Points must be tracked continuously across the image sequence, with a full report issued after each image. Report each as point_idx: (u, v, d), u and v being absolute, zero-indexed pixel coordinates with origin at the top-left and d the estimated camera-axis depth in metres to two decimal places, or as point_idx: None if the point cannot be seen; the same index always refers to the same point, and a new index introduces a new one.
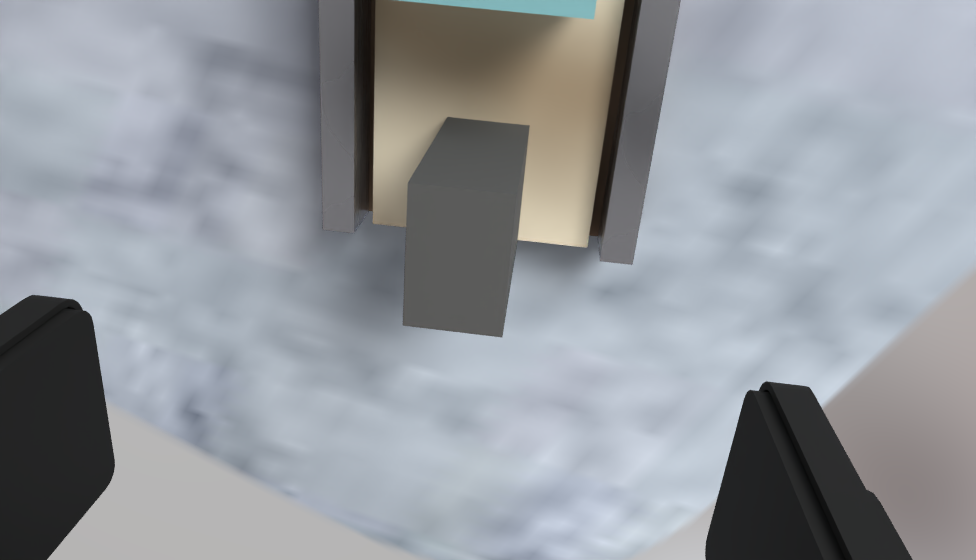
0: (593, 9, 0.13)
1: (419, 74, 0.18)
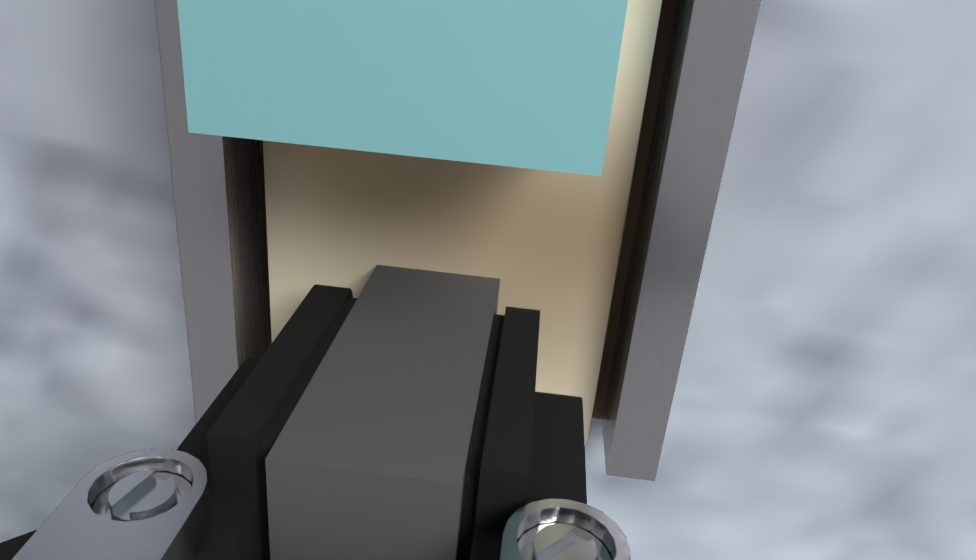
0: (600, 159, 0.07)
1: (332, 204, 0.12)
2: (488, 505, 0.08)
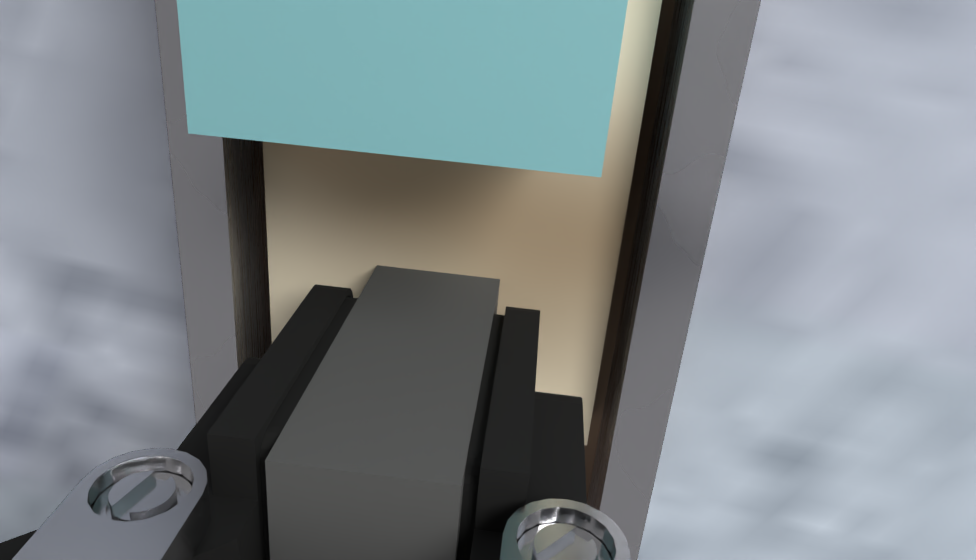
0: (600, 160, 0.07)
1: (332, 205, 0.12)
2: (488, 505, 0.08)
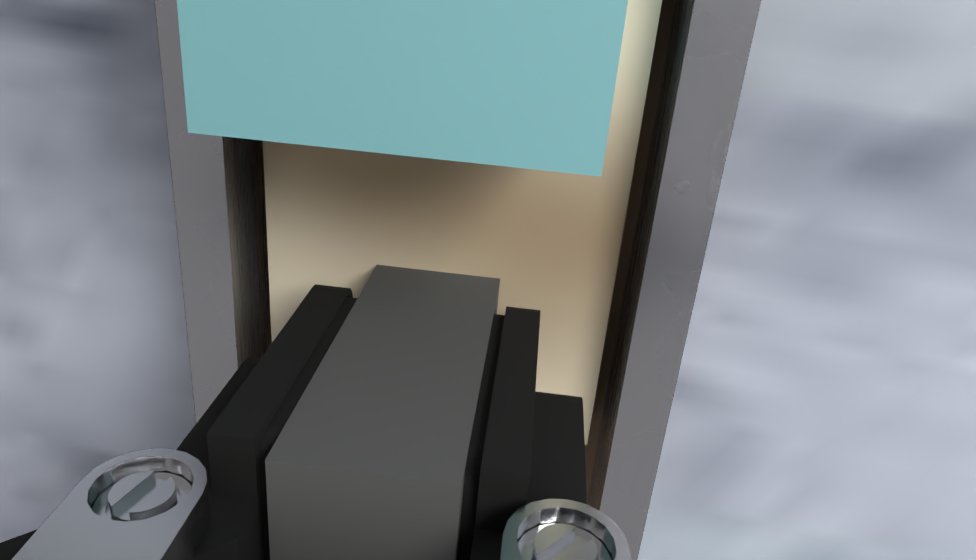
0: (600, 160, 0.07)
1: (332, 204, 0.12)
2: (488, 505, 0.08)
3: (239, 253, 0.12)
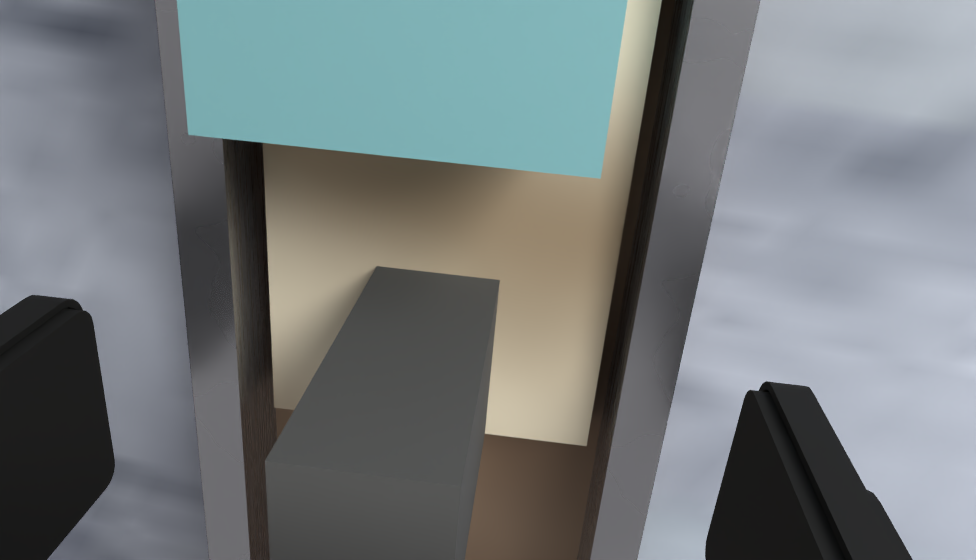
0: (599, 162, 0.07)
1: (332, 205, 0.12)
2: None
3: (239, 256, 0.12)
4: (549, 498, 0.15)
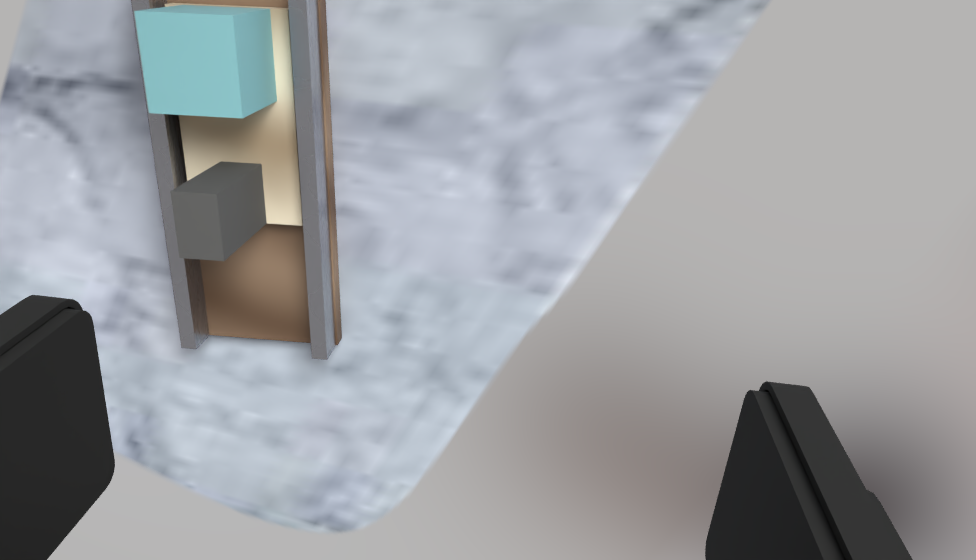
0: (241, 114, 0.31)
1: (203, 141, 0.36)
2: None
3: (174, 159, 0.36)
4: (301, 256, 0.38)
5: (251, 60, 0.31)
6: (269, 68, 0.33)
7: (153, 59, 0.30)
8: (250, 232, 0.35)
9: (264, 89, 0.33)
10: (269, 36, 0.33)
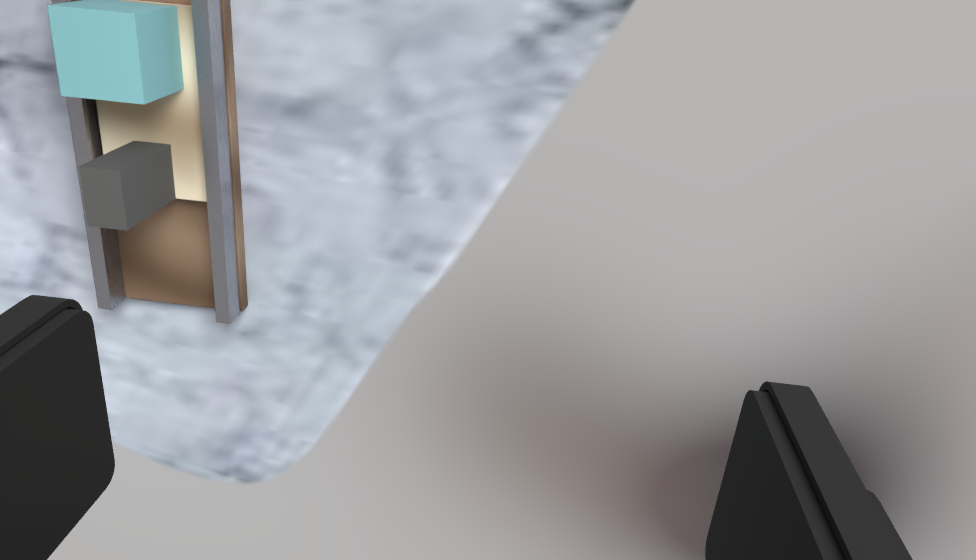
0: (142, 101, 0.35)
1: (118, 121, 0.39)
2: None
3: (91, 136, 0.40)
4: (209, 229, 0.42)
5: (154, 52, 0.35)
6: (175, 59, 0.37)
7: (64, 48, 0.34)
8: (157, 205, 0.39)
9: (170, 78, 0.37)
10: (176, 31, 0.37)
